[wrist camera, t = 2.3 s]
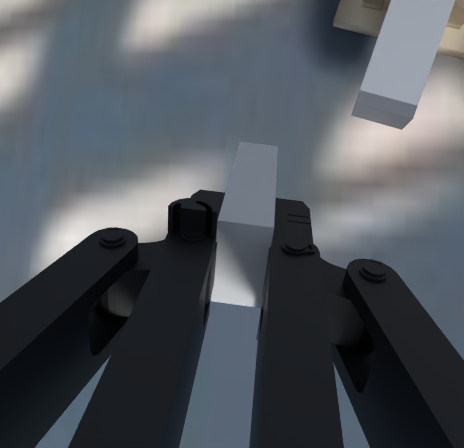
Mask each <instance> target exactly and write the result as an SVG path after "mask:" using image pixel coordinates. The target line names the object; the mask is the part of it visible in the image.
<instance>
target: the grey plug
mask: <svg viewBox="0 0 464 448" xmlns="http://www.w3.org/2000/svg"><path fill="white" fill-rule="evenodd" d="M454 2H455V0H391V2H390V5H389V7H388V10H387V13H386V16H385V19H384V22H383V25H382V28H381V31H380V34H379V36H378V39H377V42H376V45H375V48H374V51H373V54H372V57H371V60H370V62H369V65H368V68H367V71H366V74H365V77H364V80H363V83H362V86H361V88H360V91H359V94H358V97H357V100H356V103H355V106H354V109H353V112H352V116H355V117H359V118H363V119H366V120H370V121H373V122H377V123H380V124H384V125H387V126H391V127H394V128H398V129H401V130H402V129H403V128H404V127H405V126H406V125H407V124H408V123H409V122H410V121H411V120H412V119H413V117H414V114H415V111H416V108H417V106H418V103H419V100H420V97H421V94H422V92H423V89H424V86H425V83H426V81H427V78H428V75H429V72H430V69H431V67H432V64H433V61H434V58H435V55H436V53H437V50H438V47H439V44H440V41H441V39H442V36H443V33H444V30H445V27H446V25H447V22H448V19H449V16H450V14H451V11H452V8H453V5H454Z"/></svg>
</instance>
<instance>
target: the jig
mask: <svg viewBox="0 0 464 448" xmlns="http://www.w3.org/2000/svg"><path fill="white" fill-rule="evenodd" d="M390 2H391V0H340V2H339V5H338V8H337V11H336V14H335V17H334V21H333V26H334V27H338V28H342V29H346V30H350V31H354V32H358V33H362V34H366V35H370V36H374V37H378V36H379V34H380V31H381V28H382V25H383V22H384V19H385V16H386V13H387V10H388V7H389V5H390ZM437 52H438V53H442V54H446V55H450V56H454V57H458V58H462V59H464V0H455V2H454V5H453V8H452V11H451V14H450V16H449V19H448V22H447V25H446V27H445V30H444V33H443V36H442V39H441V41H440V44H439V47H438V50H437Z"/></svg>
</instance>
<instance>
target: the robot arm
mask: <svg viewBox="0 0 464 448" xmlns="http://www.w3.org/2000/svg"><path fill="white" fill-rule="evenodd" d="M277 151H278V146H272V145H264V144H255V143H247V142H240V143H239V147H238V150H237V154H236V158H235V161H234V165H233V168H232V172H231V175H230V179H229V182H228V186H227V189H226V193H223V192H215V191H207V190H199V191H198V192H196V193H195V194H193V195H192V196H191V198H185V199H179V200H176V201H174V202H172V203H171V204H170V205H169V206H168V234H167V236H166V238H165V240H162V241H158V242H150V243H138V237H137V235H136V234H135V233H134V232H132V231H129V230H127V229H122V228H115V227H114V228H106V229H102V230H98V231H96V232H94V233H93V234H91V235H89V236H88V237H87V238H85V239H84V240H83V241H82V242H80V243H79V244H78V245H76V246H75V247H74V248H72V249H71V250H70V251H68V252H67V253H66V254H64V255H63V256H62V257H60V258H59V259H58V260H56V261H55V262H54V263H52V264H51V265H50V266H48V267H47V268H46V269H44V270H43V271H42V272H40V273H39V274H38V275H36V276H35V277H34V278H32V279H31V280H30V281H28V282H27V283H26V284H24V285H23V286H22V287H21V288H19V289H18V290H17V291H15V292H14V293H13V294H11V295H10V296H9V297H7V298H6V299H5V300H3V301H2V302H1V303H0V448H35V446H36V445H37V444H38V443H39V441H40V440H41V439H42V438H43V437H44V435H45V434H46V433H47V432H48V431H49V429H50V428H51V427H52V426H53V424H54V423H55V422H56V421H57V420H58V418H59V417H60V416H61V415H62V414H63V412H64V411H65V410H66V409H67V408H68V406H69V405H70V404H71V403H72V401H73V400H74V399H75V398H76V397H77V395H78V394H79V393H80V392H81V391H82V389H83V388H84V387H85V386H86V384H87V383H88V382H89V381H90V380H91V378H92V377H93V376H94V375H95V374H96V372H97V371H98V370H99V369H100V368H101V366H102V365H103V364H104V363H105V361H106V360H107V359H108V358H109V357H110V358H109V361H108V363H107V365H106V367H105V369H104V371H103V374H102V376H101V378H100V380H99V382H98V384H97V386H96V389H95V391H94V393H93V395H92V397H91V399H90V402H89V404H88V406H87V408H86V410H85V412H84V415H83V417H82V419H81V421H80V423H79V425H78V427H77V430H76V432H75V434H74V436H73V438H72V440H71V443H70V445H69V447H68V448H179V445H180V441H181V436H182V432H183V427H184V423H185V418H186V414H187V410H188V405H189V401H190V396H191V392H192V387H193V383H194V379H195V374H196V370H197V365H198V361H199V356H200V352H201V347H202V343H203V339H204V334H205V330H206V325H207V321H208V316H209V311H210V299H211V301H214V302H221V303H229V304H236V305H243V306H250V307H258V308H261V313H260V320H259V326H258V333H257V340H258V346H257V358H256V371H255V383H254V396H253V408H252V421H251V434H250V446H249V448H344V445H343V437H342V429H341V421H340V413H339V405H338V397H337V389H336V381H335V373H334V365H333V362H334V364H335V367H336V369H337V371H338V374H339V376H340V378H341V381H342V383H343V385H344V388H345V390H346V392H347V395H348V397H349V399H350V402H351V404H352V406H353V409H354V411H355V413H356V416H357V418H358V420H359V423H360V425H361V427H362V430H363V432H364V434H365V437H366V439H367V441H368V444H369V446H370V448H464V360H463V359H462V357H461V356H460V355H459V353H458V352H457V351H456V349H455V348H454V347H453V346H452V344H451V343H450V342H449V340H448V339H447V338H446V336H445V335H444V334H443V333H442V331H441V330H440V329H439V327H438V326H437V325H436V323H435V322H434V321H433V319H432V318H431V317H430V316H429V314H428V313H427V312H426V310H425V309H424V308H423V306H422V305H421V304H420V302H419V301H418V300H417V299H416V297H415V296H414V295H413V293H412V292H411V291H410V289H409V288H408V287H407V286H406V284H405V283H404V282H403V280H402V279H401V278H400V276H399V275H398V274H397V273H396V272H395V271H394V270H393V269H392V268H391V267H389V266H387V265H385V264H384V263H382V262H379V261H376V260H372V259H357V260H353V261H352V262H350V263H349V264H348V266H347V269H344V268H341V267H338V266H335V265H333V264H330V263H328V262H326V261H325V260H323V259H322V258H320V252H319V250H318V248H317V246H315V245H314V244H313V237H312V228H311V218H310V209H309V208H308V207H307V206H306V205H305V204H304V202H303V201H295V200H287V199H279V198H275V197H276V174H277ZM211 294H212V296H211ZM110 355H111V356H110Z"/></svg>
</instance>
